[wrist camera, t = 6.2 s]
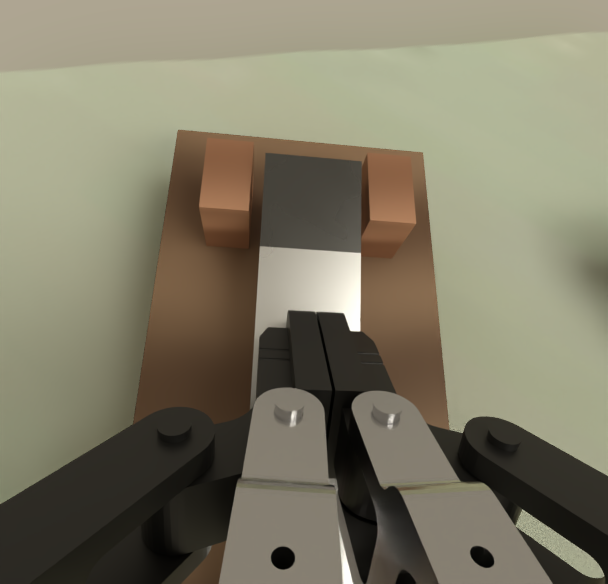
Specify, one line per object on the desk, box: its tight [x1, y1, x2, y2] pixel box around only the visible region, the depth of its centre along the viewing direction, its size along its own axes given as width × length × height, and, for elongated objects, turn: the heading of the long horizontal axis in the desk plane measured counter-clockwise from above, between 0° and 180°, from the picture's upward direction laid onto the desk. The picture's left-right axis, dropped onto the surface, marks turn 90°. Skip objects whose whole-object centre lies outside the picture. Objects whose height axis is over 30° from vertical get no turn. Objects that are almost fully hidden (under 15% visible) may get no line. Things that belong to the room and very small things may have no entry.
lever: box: [250, 153, 362, 584], centre depth 13 cm, size 14×3×1 cm, turn 179°
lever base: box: [133, 130, 449, 584], centre depth 15 cm, size 20×10×7 cm, turn 179°
